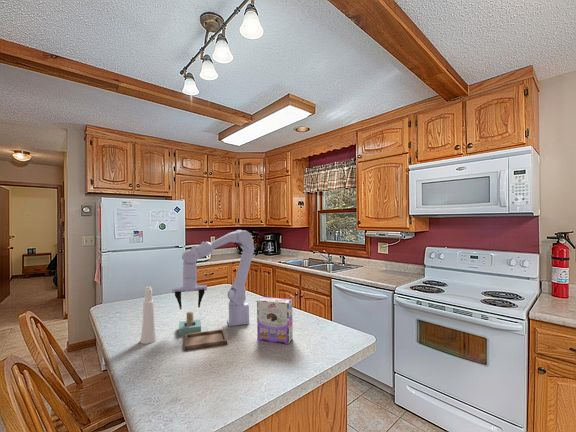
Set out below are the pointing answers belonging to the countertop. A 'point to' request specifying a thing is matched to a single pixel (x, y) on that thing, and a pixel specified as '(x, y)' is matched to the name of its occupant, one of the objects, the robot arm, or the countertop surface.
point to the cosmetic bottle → (148, 319)
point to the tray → (205, 339)
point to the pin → (189, 318)
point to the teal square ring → (189, 327)
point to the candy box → (274, 320)
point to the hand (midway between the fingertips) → (189, 307)
